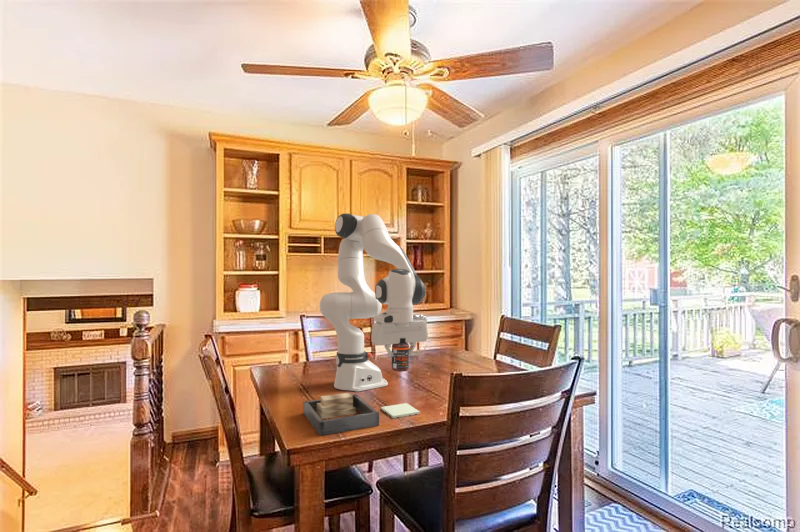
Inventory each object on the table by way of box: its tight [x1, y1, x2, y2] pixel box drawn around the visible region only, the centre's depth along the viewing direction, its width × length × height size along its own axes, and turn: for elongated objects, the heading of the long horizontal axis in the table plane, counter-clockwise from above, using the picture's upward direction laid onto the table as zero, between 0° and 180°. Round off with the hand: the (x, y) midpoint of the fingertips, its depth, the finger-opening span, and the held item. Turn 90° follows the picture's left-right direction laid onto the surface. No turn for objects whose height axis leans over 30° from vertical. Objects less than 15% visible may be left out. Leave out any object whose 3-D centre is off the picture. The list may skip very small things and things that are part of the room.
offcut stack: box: [316, 392, 357, 420], centre depth 145 cm, size 12×6×6 cm, turn 116°
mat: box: [380, 402, 421, 419], centre depth 147 cm, size 10×10×1 cm
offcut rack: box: [302, 394, 380, 437], centre depth 140 cm, size 19×21×4 cm
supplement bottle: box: [391, 338, 410, 373], centre depth 147 cm, size 6×6×11 cm
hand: (400, 356), depth 147 cm, fingers closed on supplement bottle, 6 cm apart
